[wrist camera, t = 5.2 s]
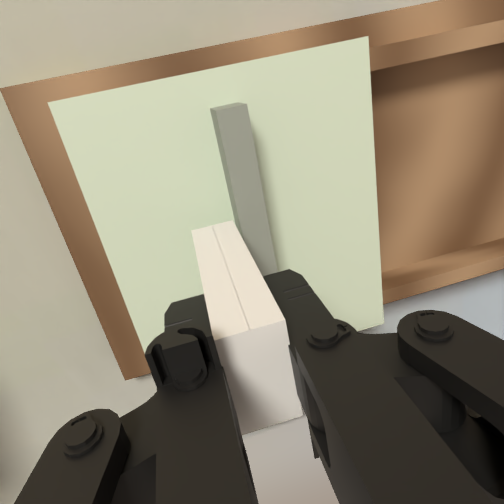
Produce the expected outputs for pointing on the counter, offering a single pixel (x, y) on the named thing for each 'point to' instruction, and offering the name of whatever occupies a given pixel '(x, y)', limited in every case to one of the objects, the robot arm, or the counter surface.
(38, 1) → the counter surface
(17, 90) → the brown compartment box
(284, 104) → the lid
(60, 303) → the counter surface
